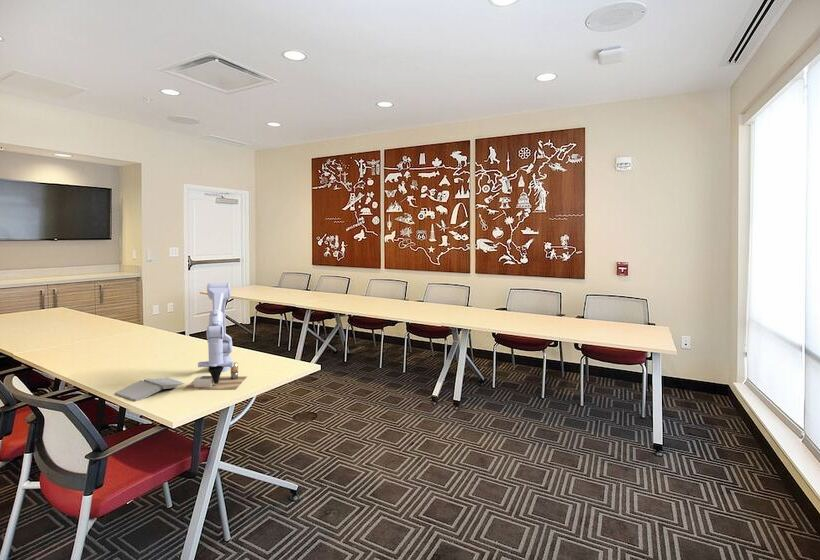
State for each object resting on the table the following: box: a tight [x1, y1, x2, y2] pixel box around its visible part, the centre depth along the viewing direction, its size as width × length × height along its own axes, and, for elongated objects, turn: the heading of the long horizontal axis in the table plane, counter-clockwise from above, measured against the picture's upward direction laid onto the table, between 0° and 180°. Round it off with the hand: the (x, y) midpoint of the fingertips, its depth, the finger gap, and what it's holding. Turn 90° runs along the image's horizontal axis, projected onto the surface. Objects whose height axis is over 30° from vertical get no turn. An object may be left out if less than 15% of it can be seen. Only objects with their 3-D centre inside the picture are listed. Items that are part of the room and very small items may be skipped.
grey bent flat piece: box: [114, 376, 186, 402], centre depth 193 cm, size 23×15×4 cm, turn 150°
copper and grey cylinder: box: [230, 362, 239, 380], centre depth 206 cm, size 3×3×7 cm
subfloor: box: [182, 375, 248, 391], centre depth 200 cm, size 18×22×1 cm
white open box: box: [193, 375, 214, 387], centre depth 196 cm, size 5×7×4 cm
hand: (216, 382), depth 196 cm, fingers closed
